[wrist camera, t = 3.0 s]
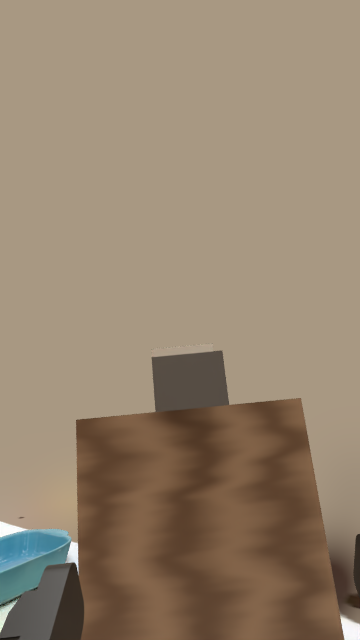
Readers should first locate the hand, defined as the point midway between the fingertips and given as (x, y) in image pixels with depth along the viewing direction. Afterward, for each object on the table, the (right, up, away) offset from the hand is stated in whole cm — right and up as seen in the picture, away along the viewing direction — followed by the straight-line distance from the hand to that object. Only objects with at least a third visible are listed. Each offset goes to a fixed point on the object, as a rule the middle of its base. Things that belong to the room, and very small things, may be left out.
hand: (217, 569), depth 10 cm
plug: (0, 0, +18) cm, 18 cm away
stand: (+3, -33, +16) cm, 36 cm away
